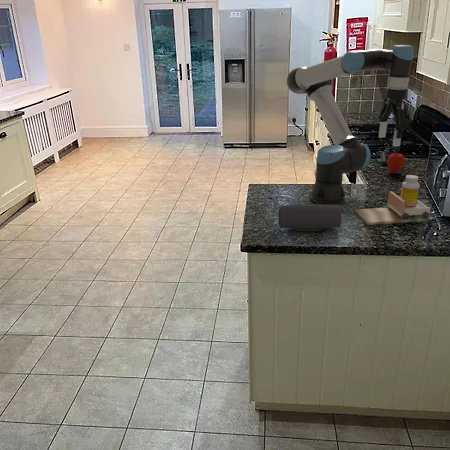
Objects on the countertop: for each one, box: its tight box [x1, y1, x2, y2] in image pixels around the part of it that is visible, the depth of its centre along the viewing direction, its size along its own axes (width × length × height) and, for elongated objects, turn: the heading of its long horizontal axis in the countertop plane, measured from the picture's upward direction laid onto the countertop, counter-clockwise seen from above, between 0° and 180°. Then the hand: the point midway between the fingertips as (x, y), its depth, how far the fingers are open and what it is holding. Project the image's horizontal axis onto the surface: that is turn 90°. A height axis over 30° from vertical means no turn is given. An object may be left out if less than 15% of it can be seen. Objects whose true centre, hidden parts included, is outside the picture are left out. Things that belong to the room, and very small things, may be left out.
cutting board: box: [354, 206, 432, 226], centre depth 182 cm, size 26×14×1 cm, turn 96°
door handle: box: [380, 151, 409, 167], centre depth 255 cm, size 3×20×16 cm
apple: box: [386, 152, 406, 174], centre depth 233 cm, size 9×8×11 cm
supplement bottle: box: [399, 174, 421, 209], centre depth 179 cm, size 7×7×13 cm
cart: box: [386, 190, 431, 219], centre depth 181 cm, size 12×14×7 cm
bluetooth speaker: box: [277, 204, 342, 232], centre depth 170 cm, size 23×9×10 cm, turn 89°
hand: (388, 141), depth 183 cm, fingers open, 13 cm apart
